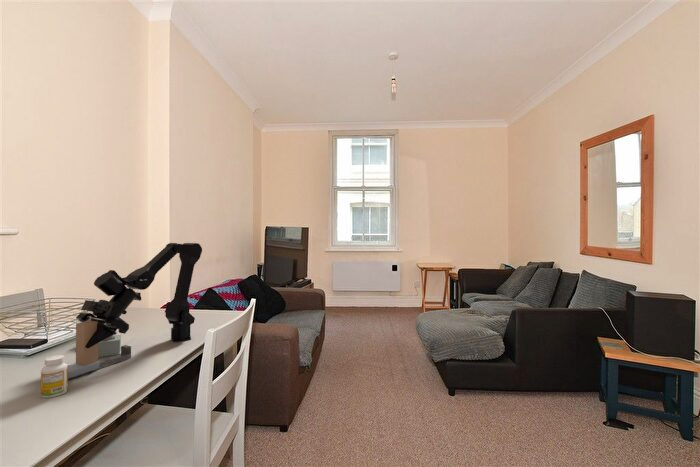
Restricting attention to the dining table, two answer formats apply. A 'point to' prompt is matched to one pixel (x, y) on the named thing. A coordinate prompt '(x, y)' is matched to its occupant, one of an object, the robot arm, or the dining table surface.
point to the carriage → (84, 350)
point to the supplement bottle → (54, 377)
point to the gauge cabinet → (109, 346)
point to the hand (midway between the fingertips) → (82, 346)
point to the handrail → (113, 358)
